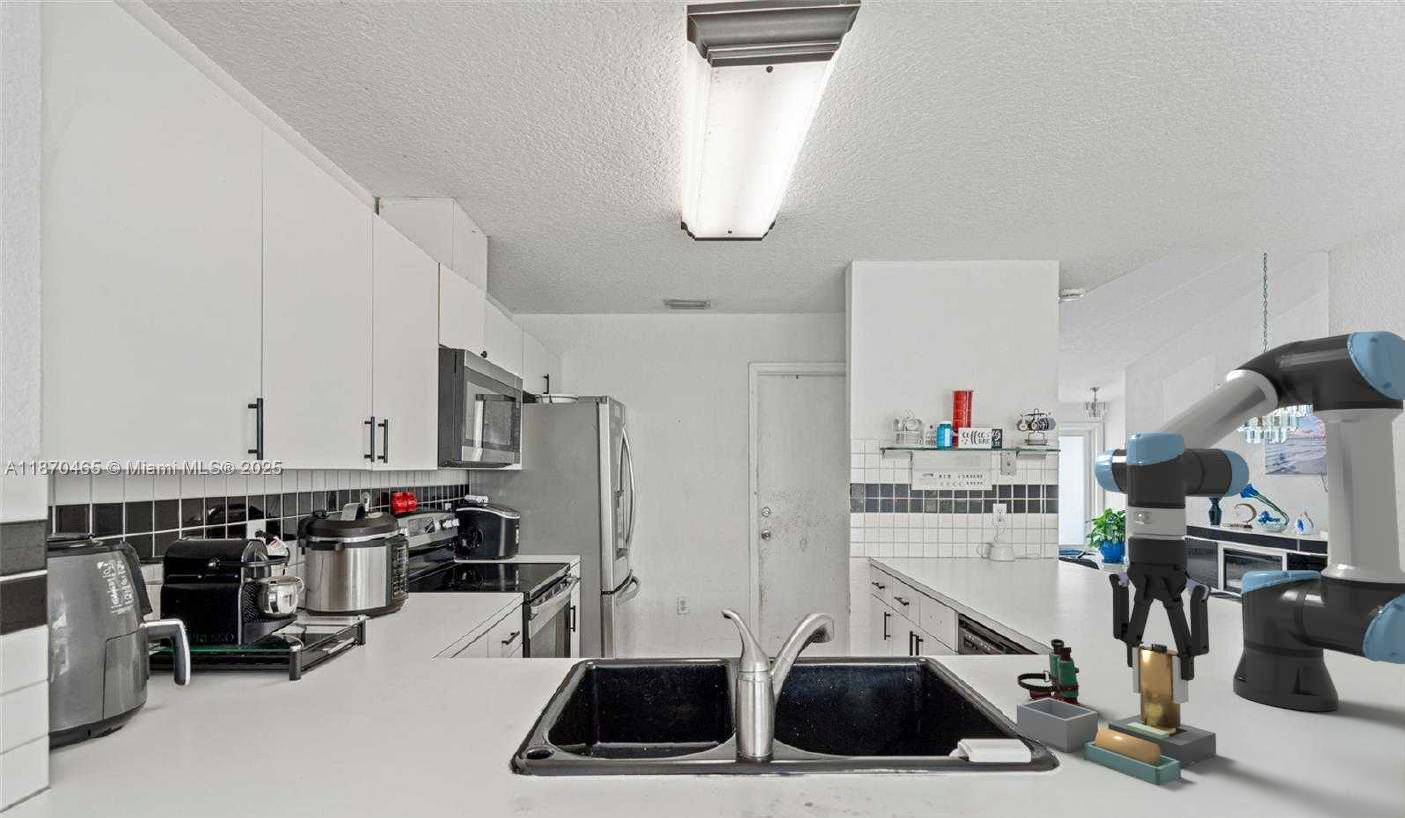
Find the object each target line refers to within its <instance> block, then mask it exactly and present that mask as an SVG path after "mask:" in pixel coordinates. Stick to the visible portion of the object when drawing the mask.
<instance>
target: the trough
mask: <svg viewBox="0 0 1405 818" xmlns="http://www.w3.org/2000/svg"><path fill="white" fill-rule="evenodd" d="M1083 749H1084V752H1083V753H1084V760H1085V761H1086V760H1087V761H1090V762H1092V763H1095V762H1096V763H1095V764H1097V763H1099V764H1098V765H1100V764H1101V765H1100V766H1103V765H1104V766H1103V767H1107V768H1109V769H1112V770H1114V769H1115V771H1117V770H1118V772H1120V771H1121V772H1120V773H1124V774H1126V775H1129V776H1130V777H1134V776H1135V777H1134V778H1137V779H1139V780H1142V781H1146V782H1149V783H1152V784H1154V785H1157V786H1159V785H1160V786H1161V785H1164V784H1163V783H1165V784H1167V783H1169V781H1170V782H1172V781H1174V779H1175V780H1177V779H1178V778H1177V777H1180V776H1181V777H1182V768H1181V761H1178V760H1175V759H1172V758H1168V757H1165V756H1162V755H1161V751H1160V748H1159V746H1158V745H1157V744H1155V743H1152V742H1148V741H1145V740H1142V739H1139V738H1135V737H1132V736H1129V735H1126V734H1123V733H1119V732H1116V731H1113V730H1110V729H1108V728H1105V727H1100V729H1099V728H1098V732H1097V735H1096V739H1095V741H1093V742H1090V743H1087V744H1084V748H1083ZM1181 777H1180V778H1181ZM1176 778H1177V779H1176Z"/></svg>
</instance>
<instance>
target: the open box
mask: <svg viewBox="0 0 1405 818" xmlns="http://www.w3.org/2000/svg"><path fill="white" fill-rule="evenodd" d="M1098 714H1099V713H1098V712H1097V711H1095V710H1091V709H1088V708H1085V707H1079V706H1075V705H1072V704H1068V703H1065V702H1062V701H1060V700H1055V699H1052V698H1044V699H1040V700H1036V701H1034V700H1032V701H1029V702H1025V703H1020V704H1019V703H1018V704H1016V730H1017V729H1018V730H1020V731H1022V732H1025V733H1026V734H1028V735H1029V736H1030V737H1032V738H1033V739H1035V740H1038V741H1039V742H1040V743H1042V744H1044V745H1043V746H1045V747H1048V748H1051V749H1054V750H1057V751H1059V752H1061V753H1062V752H1063V753H1065V754H1069V753H1072V752H1075V751H1078V750H1082V749H1084V744H1087V743H1090V742H1093V741H1095V739H1096V735H1097V732H1098V731H1099V715H1098ZM1042 744H1041V745H1042ZM1081 748H1082V749H1081Z"/></svg>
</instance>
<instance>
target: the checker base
mask: <svg viewBox="0 0 1405 818" xmlns="http://www.w3.org/2000/svg"><path fill="white" fill-rule="evenodd" d="M1107 725H1108V726H1107V727H1108V728H1107V729H1110V730H1113V731H1116V732H1119V733H1123V734H1126V735H1129V736H1132V737H1135V738H1139V739H1142V740H1145V741H1148V742H1152V743H1155V744H1157V745H1158V746H1159V748H1160V751H1161V755H1162V756H1165V757H1168V758H1172V759H1175V760H1178V761H1181V769H1182V767H1183V768H1184V766H1186V767H1188V766H1190V765H1189V764H1191V763H1193V762H1196V763H1199V762H1200V760H1201V761H1203V760H1206V759H1209V758H1211V757H1214V756H1216V755H1217V736H1216V734H1217V733H1215V732H1212V731H1209V730H1206V729H1201V728H1199V727H1195V726H1191V725H1188V724H1185V723H1181V726H1180V727H1178V728H1176V735H1174V736H1171V737H1170V736H1169V732H1167V731H1163V730H1160V729H1157V728H1153V727H1150V726H1147V723H1145V722H1143V721H1142V720H1141V713H1140V714H1136V715H1132V716H1129V717H1126V718H1123V719H1120V720H1116V721H1113V722H1108V724H1107ZM1215 754H1216V755H1215ZM1213 755H1214V756H1213ZM1210 756H1211V757H1210ZM1193 764H1194V763H1193ZM1187 765H1188V766H1187ZM1191 765H1192V764H1191Z"/></svg>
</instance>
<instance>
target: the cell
mask: <svg viewBox="0 0 1405 818" xmlns="http://www.w3.org/2000/svg"><path fill="white" fill-rule="evenodd" d="M1176 654H1178V651H1177V650H1173V649H1169V648H1168V646H1167V645H1165V644H1161V643H1151V645H1150V646H1146V647H1141V648H1140V693H1139V694H1140V698H1139V699H1140V703H1139V705H1140V708H1139V709H1140V714H1141V720H1142V721H1143V722H1145V723H1148V724H1151V725H1155V726H1159V727H1166V728H1178V727H1180V726H1181V724H1182V722H1181V719H1182V718H1181V717H1182V716H1181V704H1177V703H1174V701H1173V660H1172V656H1176Z"/></svg>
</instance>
